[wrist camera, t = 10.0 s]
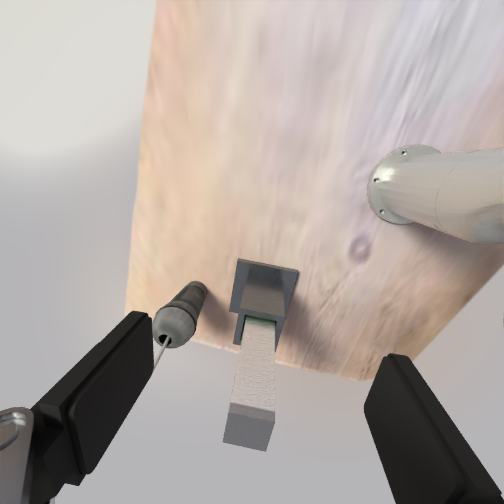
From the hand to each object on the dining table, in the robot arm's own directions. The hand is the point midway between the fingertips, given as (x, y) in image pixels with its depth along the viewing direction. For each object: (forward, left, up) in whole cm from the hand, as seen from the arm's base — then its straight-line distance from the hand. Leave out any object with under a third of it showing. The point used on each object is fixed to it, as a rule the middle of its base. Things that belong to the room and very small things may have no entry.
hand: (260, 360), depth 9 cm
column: (-1, +17, -28) cm, 33 cm away
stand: (-1, +17, -36) cm, 39 cm away
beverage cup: (+12, +20, -36) cm, 43 cm away
